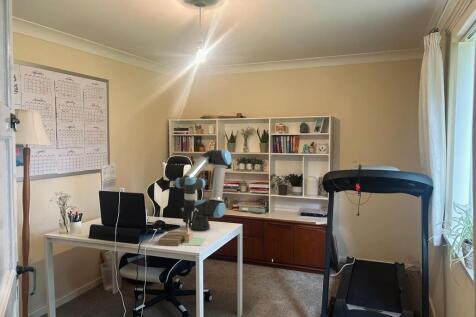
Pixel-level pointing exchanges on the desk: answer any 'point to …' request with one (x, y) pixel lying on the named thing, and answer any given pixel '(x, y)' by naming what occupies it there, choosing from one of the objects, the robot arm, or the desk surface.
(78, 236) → the desk surface
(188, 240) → the card
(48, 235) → the desk surface
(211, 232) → the desk surface
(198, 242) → the mat
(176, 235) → the deck
